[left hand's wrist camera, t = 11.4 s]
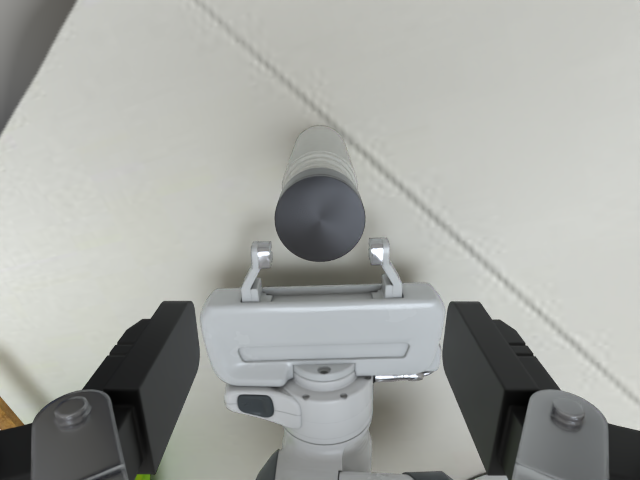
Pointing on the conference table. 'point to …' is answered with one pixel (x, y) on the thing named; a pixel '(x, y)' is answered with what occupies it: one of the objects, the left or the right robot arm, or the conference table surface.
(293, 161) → the bottle
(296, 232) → the cap
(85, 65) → the conference table surface
